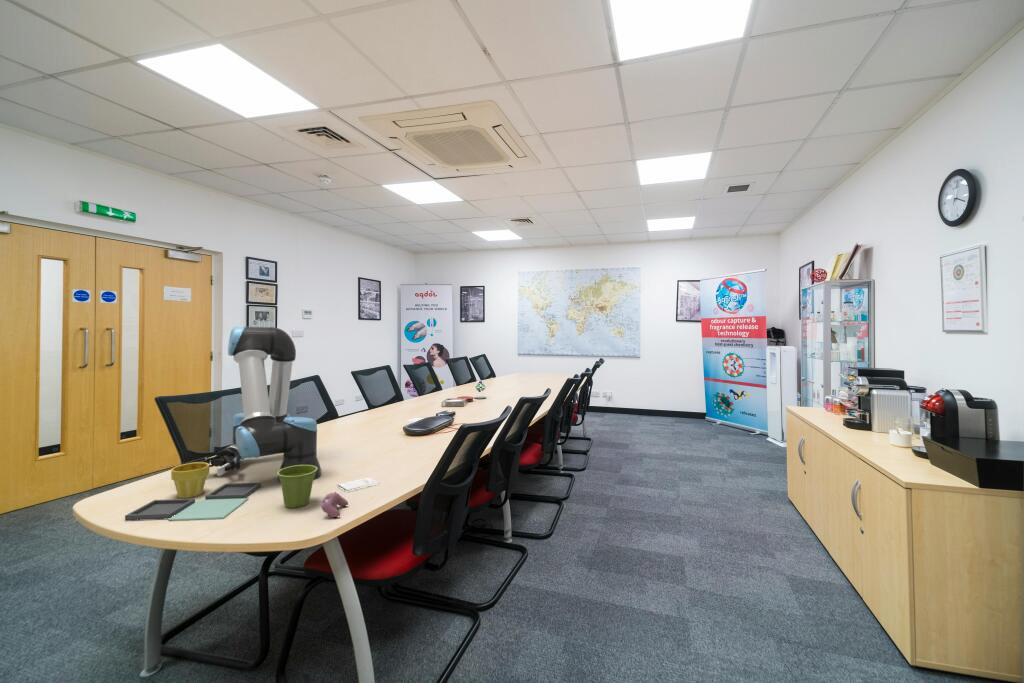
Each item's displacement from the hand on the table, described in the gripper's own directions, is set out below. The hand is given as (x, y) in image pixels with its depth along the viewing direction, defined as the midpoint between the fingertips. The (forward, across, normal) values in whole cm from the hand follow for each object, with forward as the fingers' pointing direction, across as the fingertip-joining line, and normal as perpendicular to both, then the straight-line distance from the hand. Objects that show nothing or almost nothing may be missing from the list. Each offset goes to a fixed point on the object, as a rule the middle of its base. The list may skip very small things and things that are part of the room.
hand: (197, 472), depth 147 cm
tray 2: (+5, -15, -6) cm, 17 cm away
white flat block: (+1, -56, -7) cm, 56 cm away
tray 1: (+19, -1, -6) cm, 20 cm away
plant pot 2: (+17, -40, -6) cm, 44 cm away
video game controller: (+25, -54, -6) cm, 59 cm away
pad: (+19, -15, -6) cm, 25 cm away
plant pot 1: (+5, -1, -6) cm, 8 cm away
